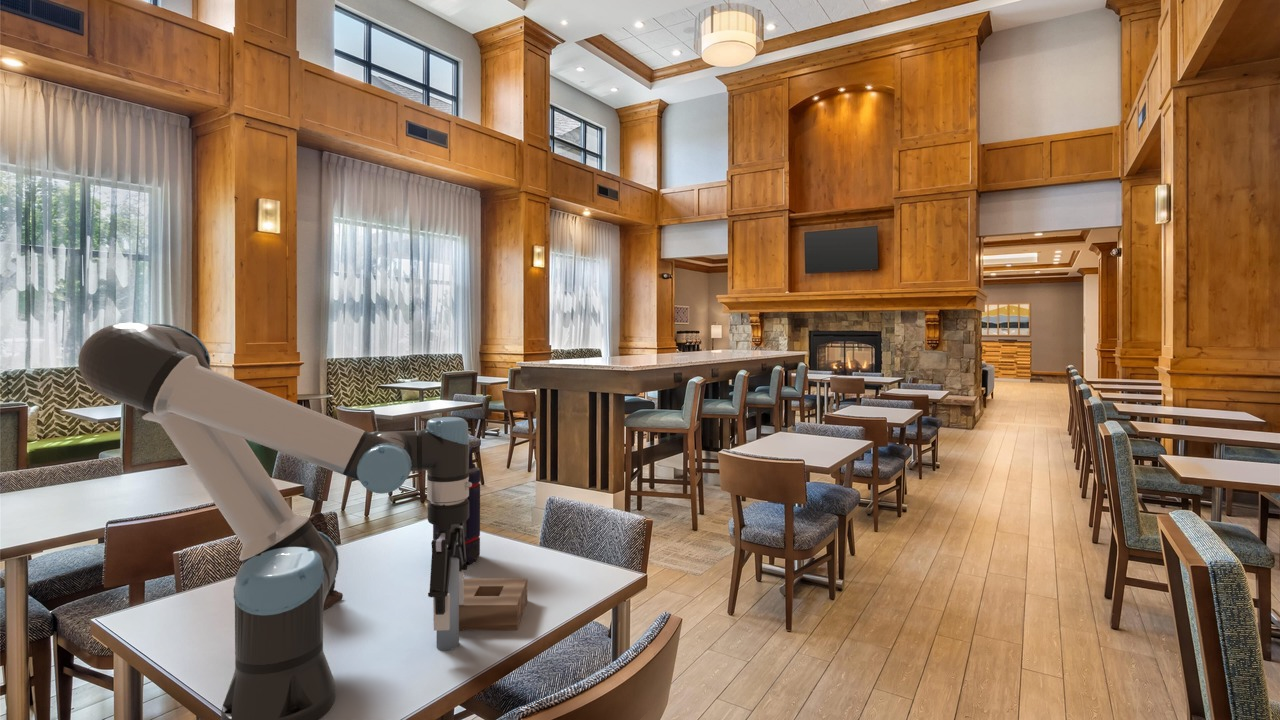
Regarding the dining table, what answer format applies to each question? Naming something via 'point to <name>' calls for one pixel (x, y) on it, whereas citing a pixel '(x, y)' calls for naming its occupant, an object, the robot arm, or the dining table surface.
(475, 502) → the grenade
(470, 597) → the socket block
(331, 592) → the statue
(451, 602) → the pin
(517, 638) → the dining table surface
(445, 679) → the dining table surface
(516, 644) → the dining table surface
